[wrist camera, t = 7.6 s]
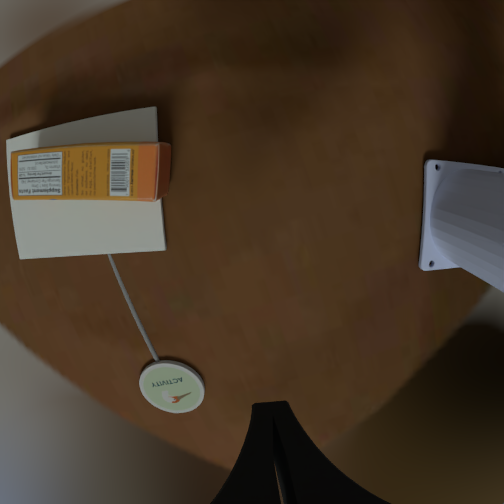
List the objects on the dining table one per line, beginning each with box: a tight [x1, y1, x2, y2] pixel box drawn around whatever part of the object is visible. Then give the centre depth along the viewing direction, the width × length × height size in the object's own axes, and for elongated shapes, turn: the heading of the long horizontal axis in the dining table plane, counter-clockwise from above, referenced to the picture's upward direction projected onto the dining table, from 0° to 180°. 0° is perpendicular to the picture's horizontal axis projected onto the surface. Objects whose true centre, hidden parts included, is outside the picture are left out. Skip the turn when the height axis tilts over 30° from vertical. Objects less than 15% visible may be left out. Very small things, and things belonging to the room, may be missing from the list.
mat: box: [6, 107, 167, 259], centre depth 18 cm, size 12×9×1 cm
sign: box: [108, 254, 205, 413], centre depth 22 cm, size 5×1×15 cm
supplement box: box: [10, 142, 171, 202], centre depth 17 cm, size 3×3×10 cm
